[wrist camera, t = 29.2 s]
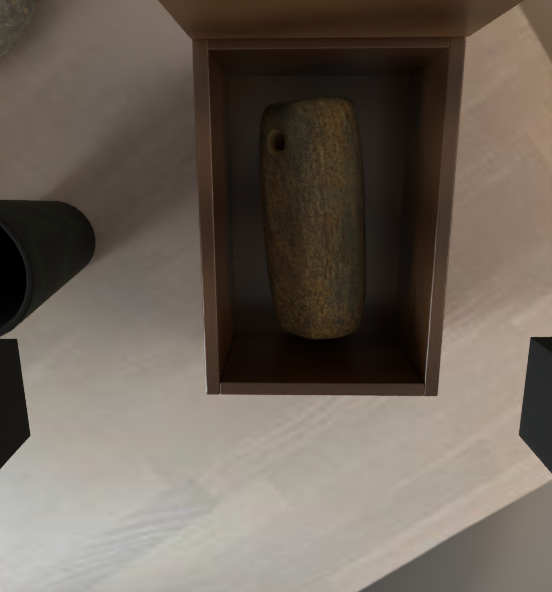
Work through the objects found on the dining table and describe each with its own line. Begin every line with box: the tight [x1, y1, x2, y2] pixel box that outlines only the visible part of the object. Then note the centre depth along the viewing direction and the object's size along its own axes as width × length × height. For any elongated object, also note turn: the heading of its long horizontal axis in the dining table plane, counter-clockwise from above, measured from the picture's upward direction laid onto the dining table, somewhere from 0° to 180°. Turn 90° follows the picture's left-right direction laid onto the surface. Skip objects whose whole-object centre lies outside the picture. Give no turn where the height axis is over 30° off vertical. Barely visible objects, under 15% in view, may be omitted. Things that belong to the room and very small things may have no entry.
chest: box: [192, 36, 466, 396], centre depth 33 cm, size 20×14×10 cm
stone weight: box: [259, 96, 366, 339], centre depth 34 cm, size 15×7×7 cm, turn 9°
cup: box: [0, 200, 95, 337], centre depth 33 cm, size 8×8×12 cm
